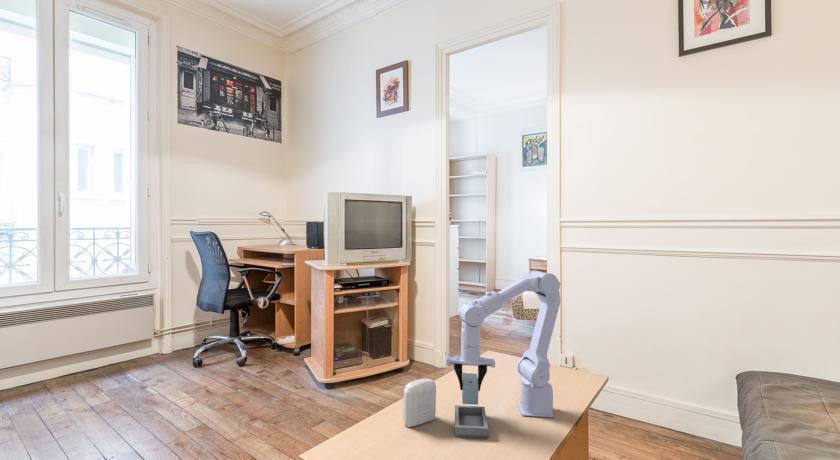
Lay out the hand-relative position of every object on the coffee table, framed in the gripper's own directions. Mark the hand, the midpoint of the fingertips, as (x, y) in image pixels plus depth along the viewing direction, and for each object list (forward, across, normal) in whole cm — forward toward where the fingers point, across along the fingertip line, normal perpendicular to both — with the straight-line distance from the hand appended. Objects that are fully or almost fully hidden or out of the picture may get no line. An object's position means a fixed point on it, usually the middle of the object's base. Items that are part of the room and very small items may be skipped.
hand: (470, 389), depth 116 cm
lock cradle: (+9, 0, +4) cm, 10 cm away
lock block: (+3, 0, 0) cm, 3 cm away
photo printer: (+9, +15, +3) cm, 18 cm away
